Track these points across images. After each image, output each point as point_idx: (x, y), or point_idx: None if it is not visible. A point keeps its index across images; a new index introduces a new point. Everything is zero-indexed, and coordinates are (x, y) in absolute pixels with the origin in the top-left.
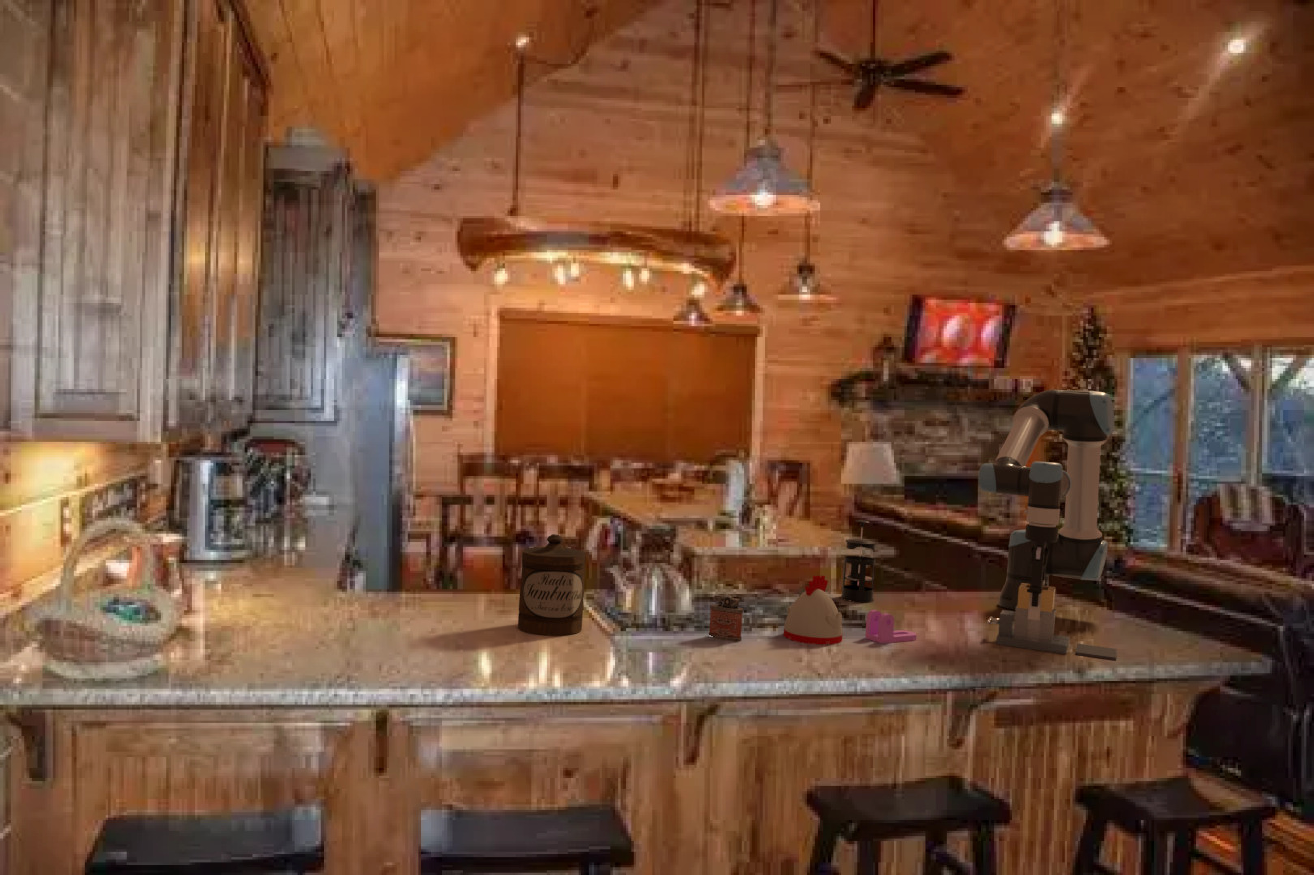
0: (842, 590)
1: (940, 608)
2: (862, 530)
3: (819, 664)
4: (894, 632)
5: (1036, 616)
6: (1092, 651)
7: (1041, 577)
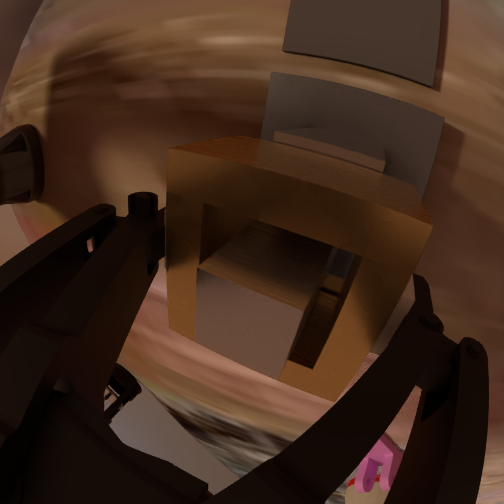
0: (129, 397)
1: None
2: None
3: (491, 481)
4: None
5: None
6: (390, 26)
7: (485, 432)
